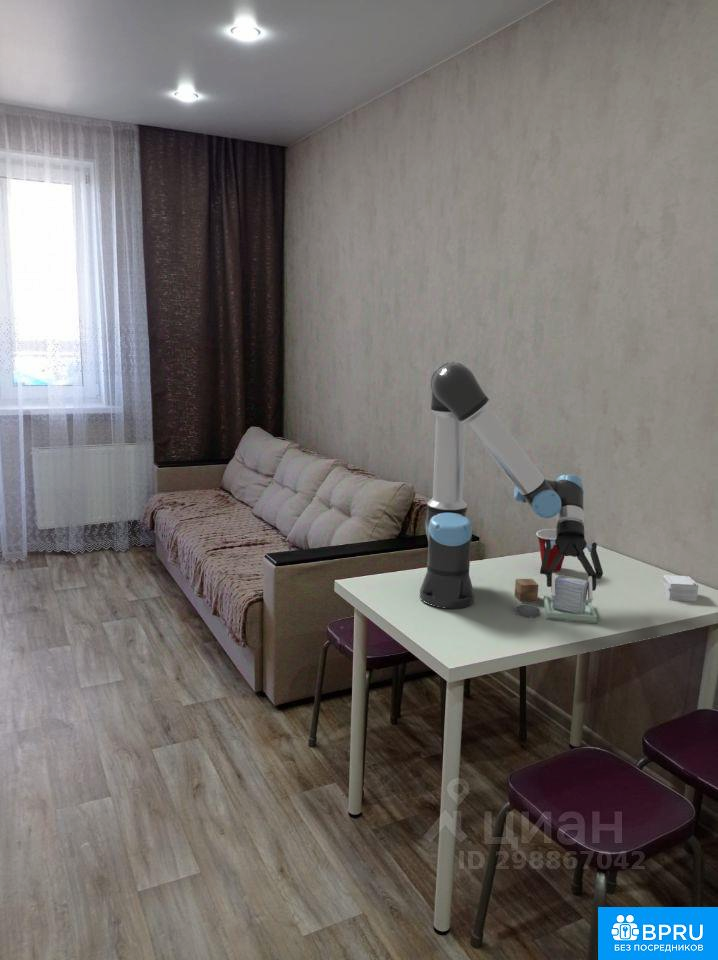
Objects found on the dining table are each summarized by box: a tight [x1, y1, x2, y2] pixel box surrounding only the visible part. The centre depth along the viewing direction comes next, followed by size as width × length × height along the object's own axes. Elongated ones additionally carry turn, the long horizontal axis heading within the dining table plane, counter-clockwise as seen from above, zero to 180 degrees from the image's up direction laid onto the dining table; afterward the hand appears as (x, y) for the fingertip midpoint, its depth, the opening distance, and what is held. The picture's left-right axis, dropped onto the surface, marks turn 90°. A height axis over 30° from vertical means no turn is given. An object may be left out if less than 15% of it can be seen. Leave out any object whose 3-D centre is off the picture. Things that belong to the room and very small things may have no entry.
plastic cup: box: [535, 528, 566, 573], centre depth 231 cm, size 11×11×12 cm
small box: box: [661, 574, 699, 602], centre depth 210 cm, size 8×8×5 cm
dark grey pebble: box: [516, 604, 540, 618], centre depth 195 cm, size 6×6×2 cm
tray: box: [542, 595, 598, 624], centre depth 196 cm, size 13×13×2 cm
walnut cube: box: [514, 578, 539, 603], centre depth 205 cm, size 5×5×5 cm
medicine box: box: [552, 574, 588, 614], centre depth 195 cm, size 8×4×9 cm, turn 57°
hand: (571, 599), depth 192 cm, fingers open, 9 cm apart
